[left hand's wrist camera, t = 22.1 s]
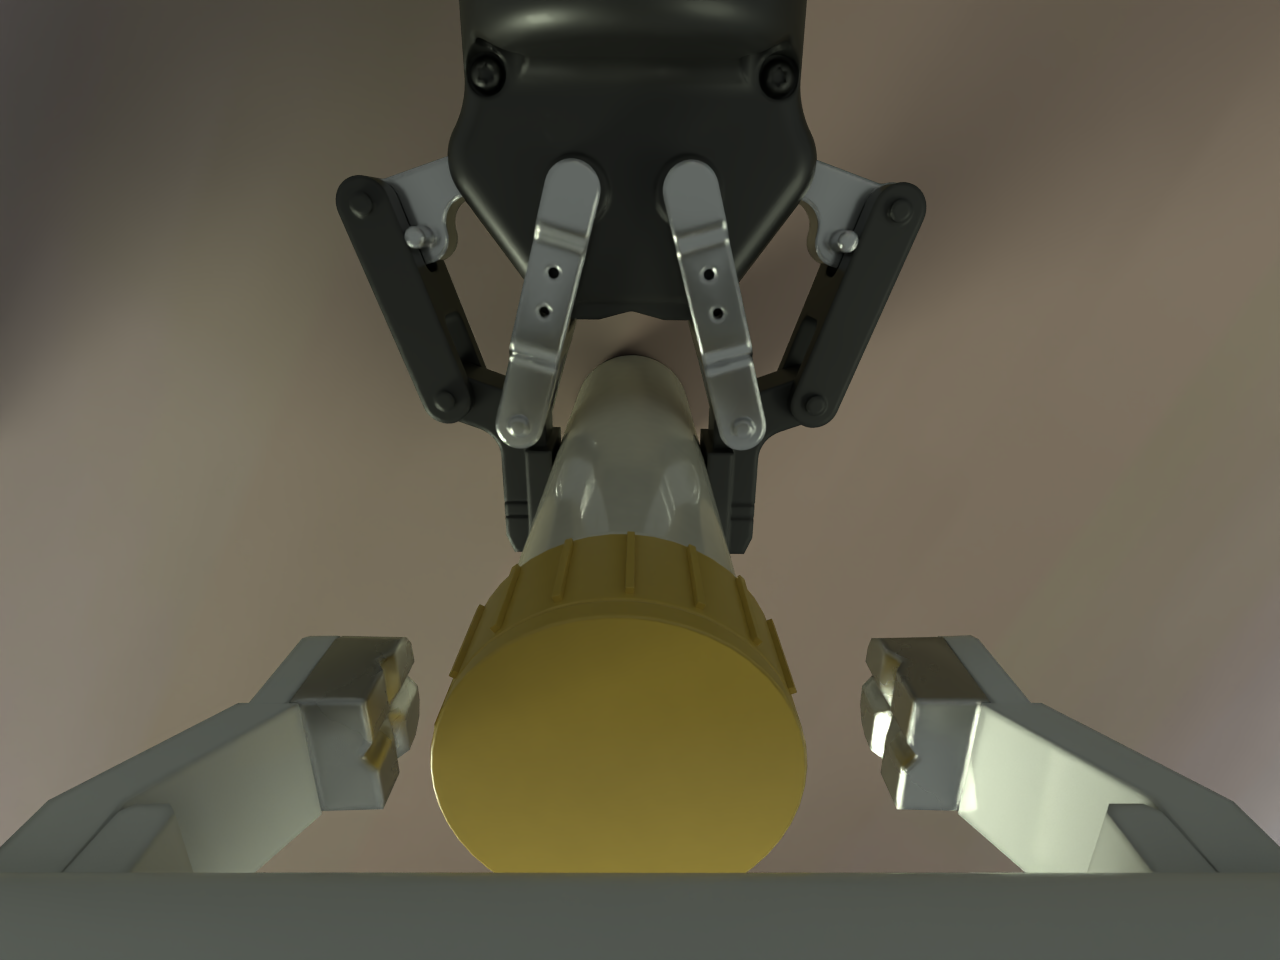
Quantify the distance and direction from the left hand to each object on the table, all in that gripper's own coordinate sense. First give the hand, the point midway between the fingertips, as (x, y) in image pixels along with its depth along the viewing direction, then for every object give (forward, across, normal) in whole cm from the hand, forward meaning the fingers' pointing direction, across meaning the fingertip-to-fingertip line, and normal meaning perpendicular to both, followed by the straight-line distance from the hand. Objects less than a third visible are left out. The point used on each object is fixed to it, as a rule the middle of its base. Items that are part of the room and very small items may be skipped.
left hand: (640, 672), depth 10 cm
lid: (-2, 0, 0) cm, 2 cm away
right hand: (+9, 0, -3) cm, 9 cm away
